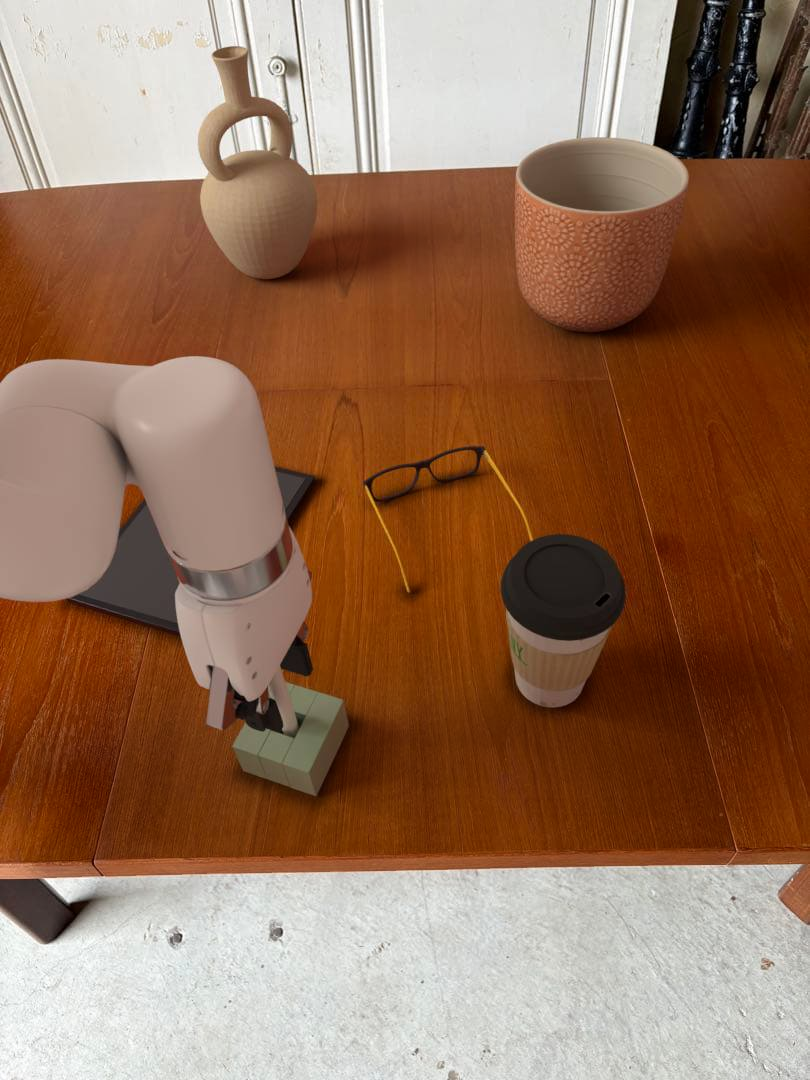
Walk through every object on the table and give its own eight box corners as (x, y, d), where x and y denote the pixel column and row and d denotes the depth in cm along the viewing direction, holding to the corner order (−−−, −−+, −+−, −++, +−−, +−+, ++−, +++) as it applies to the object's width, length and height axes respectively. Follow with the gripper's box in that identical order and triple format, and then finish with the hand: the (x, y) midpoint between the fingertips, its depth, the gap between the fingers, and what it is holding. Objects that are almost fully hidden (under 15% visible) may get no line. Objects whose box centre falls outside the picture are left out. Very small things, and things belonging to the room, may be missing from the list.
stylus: (286, 752, 71) (255, 664, 60) (293, 738, 72) (264, 649, 61) (300, 757, 70) (272, 669, 60) (307, 743, 71) (280, 654, 61)
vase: (254, 310, 118) (205, 87, 95) (198, 267, 127) (142, 53, 104) (347, 268, 124) (321, 49, 102) (287, 230, 133) (252, 21, 111)
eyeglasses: (480, 465, 94) (480, 439, 91) (536, 553, 84) (539, 527, 81) (363, 500, 91) (359, 474, 88) (408, 595, 82) (406, 569, 79)
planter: (690, 329, 109) (725, 189, 95) (550, 368, 105) (564, 228, 91) (612, 257, 122) (632, 124, 108) (485, 288, 118) (488, 155, 104)
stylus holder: (242, 771, 70) (231, 746, 67) (279, 703, 74) (270, 676, 71) (316, 796, 68) (308, 772, 65) (349, 725, 72) (343, 699, 69)
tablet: (68, 602, 83) (64, 596, 83) (188, 451, 98) (186, 445, 97) (212, 646, 79) (210, 640, 78) (316, 481, 93) (314, 475, 93)
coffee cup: (541, 616, 79) (554, 509, 68) (626, 676, 74) (655, 572, 63) (473, 679, 75) (475, 576, 64) (558, 747, 70) (576, 649, 59)
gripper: (242, 446, 57) (284, 603, 71) (103, 634, 47) (184, 775, 60) (339, 468, 55) (364, 625, 69) (216, 670, 45) (274, 808, 58)
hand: (279, 694), depth 64 cm, fingers open, 4 cm apart
